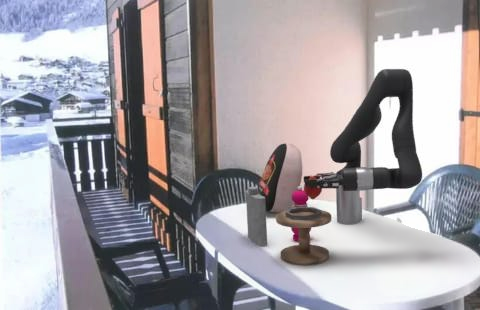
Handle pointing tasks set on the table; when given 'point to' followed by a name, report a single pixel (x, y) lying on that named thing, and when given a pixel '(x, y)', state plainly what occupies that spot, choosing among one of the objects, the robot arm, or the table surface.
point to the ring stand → (304, 235)
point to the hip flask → (256, 217)
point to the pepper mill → (299, 201)
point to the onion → (312, 190)
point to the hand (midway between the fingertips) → (304, 181)
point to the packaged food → (281, 178)
